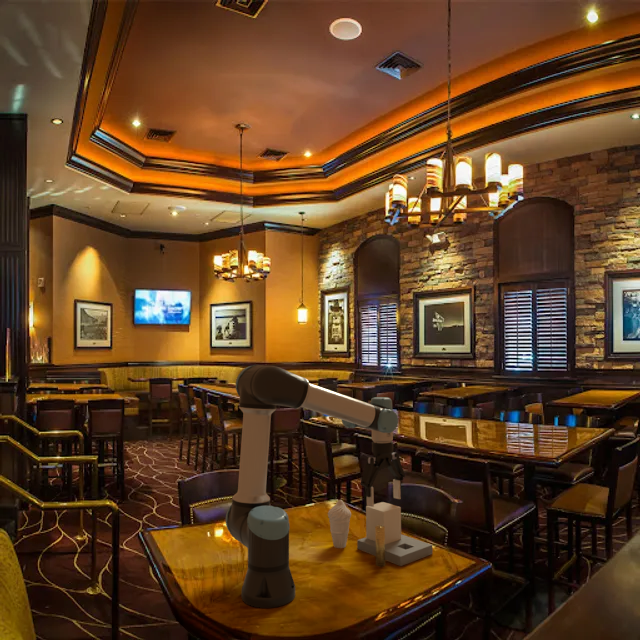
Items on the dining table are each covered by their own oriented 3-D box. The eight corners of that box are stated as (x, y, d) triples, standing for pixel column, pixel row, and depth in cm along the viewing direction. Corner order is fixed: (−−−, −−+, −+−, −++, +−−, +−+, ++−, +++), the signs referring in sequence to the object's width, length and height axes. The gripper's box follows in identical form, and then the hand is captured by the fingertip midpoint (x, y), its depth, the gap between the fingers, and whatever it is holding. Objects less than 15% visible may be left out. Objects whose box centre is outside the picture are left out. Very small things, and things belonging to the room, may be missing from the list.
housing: (384, 544, 182) (383, 511, 183) (366, 538, 189) (366, 506, 189) (401, 539, 188) (400, 507, 188) (383, 532, 194) (383, 501, 195)
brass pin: (380, 567, 171) (380, 528, 171) (373, 564, 173) (373, 526, 174) (387, 564, 173) (386, 526, 173) (380, 562, 175) (379, 524, 176)
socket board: (400, 566, 171) (400, 556, 172) (357, 548, 187) (357, 540, 187) (432, 553, 182) (432, 544, 182) (389, 538, 197) (389, 530, 197)
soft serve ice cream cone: (342, 552, 184) (342, 504, 185) (323, 547, 189) (322, 500, 190) (356, 545, 190) (355, 499, 191) (336, 540, 195) (336, 495, 196)
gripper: (364, 447, 179) (366, 511, 178) (413, 438, 195) (415, 497, 194) (349, 444, 185) (350, 506, 184) (398, 435, 201) (399, 493, 200)
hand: (383, 502), depth 189 cm, fingers open, 13 cm apart
